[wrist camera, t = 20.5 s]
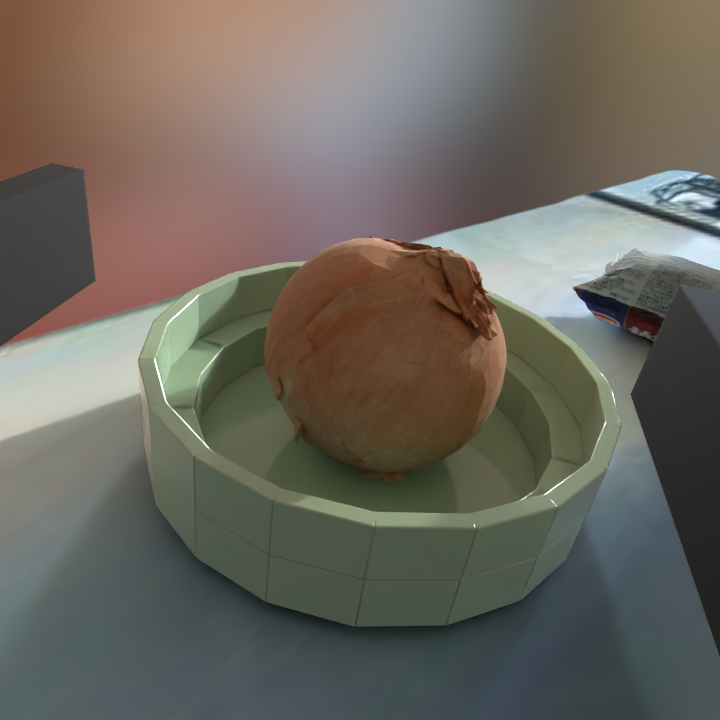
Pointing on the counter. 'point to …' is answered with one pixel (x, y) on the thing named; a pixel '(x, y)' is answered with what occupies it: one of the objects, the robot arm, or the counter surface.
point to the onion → (385, 354)
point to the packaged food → (643, 289)
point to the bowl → (349, 489)
